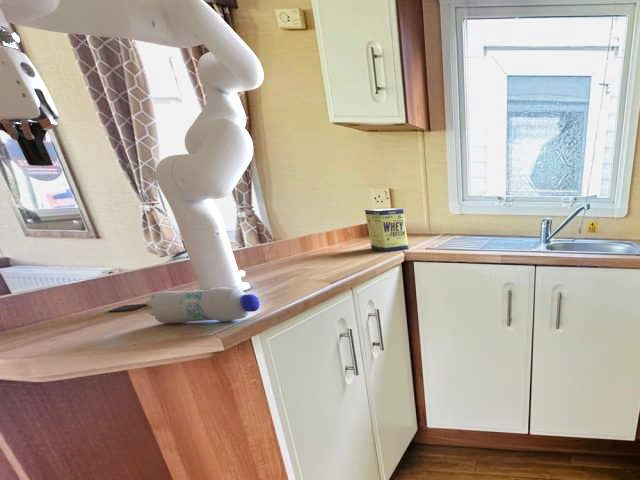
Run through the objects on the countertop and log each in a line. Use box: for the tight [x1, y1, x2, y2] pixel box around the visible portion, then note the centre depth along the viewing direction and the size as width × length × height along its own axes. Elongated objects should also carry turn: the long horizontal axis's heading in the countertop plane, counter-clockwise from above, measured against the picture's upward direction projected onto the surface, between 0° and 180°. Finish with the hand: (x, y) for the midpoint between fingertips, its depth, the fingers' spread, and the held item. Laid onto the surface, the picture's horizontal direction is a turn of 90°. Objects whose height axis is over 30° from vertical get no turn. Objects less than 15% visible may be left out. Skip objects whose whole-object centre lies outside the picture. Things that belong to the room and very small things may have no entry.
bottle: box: [146, 287, 260, 324], centre depth 83 cm, size 7×7×20 cm
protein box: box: [364, 208, 409, 252], centre depth 175 cm, size 10×16×16 cm
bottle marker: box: [108, 303, 148, 313], centre depth 97 cm, size 5×5×1 cm
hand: (41, 165), depth 78 cm, fingers closed
